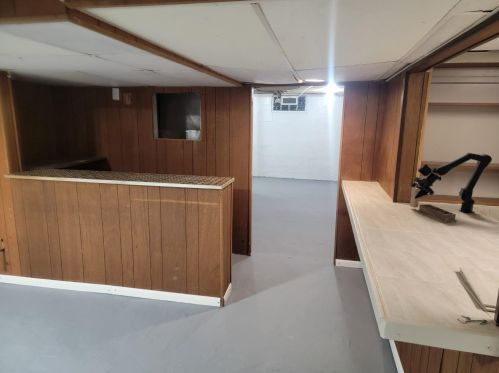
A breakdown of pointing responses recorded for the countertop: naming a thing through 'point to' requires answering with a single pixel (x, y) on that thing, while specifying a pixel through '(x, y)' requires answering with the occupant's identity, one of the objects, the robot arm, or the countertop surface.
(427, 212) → the compartment tray
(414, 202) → the clay block
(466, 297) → the countertop surface
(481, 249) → the countertop surface
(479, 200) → the countertop surface
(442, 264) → the countertop surface
